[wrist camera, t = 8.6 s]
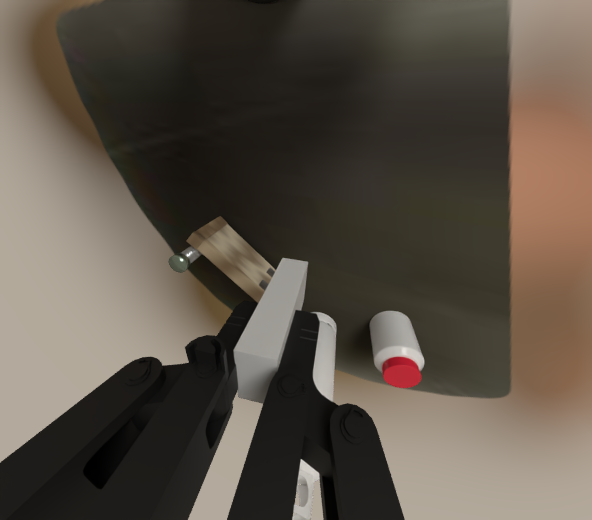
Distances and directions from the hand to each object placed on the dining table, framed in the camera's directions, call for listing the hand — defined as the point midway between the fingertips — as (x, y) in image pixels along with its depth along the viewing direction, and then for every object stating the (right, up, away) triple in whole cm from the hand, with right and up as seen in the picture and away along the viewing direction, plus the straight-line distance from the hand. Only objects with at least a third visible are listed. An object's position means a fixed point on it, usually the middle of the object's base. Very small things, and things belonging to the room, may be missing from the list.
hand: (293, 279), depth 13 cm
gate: (-8, +3, +27) cm, 29 cm away
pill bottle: (+19, -12, +31) cm, 38 cm away
